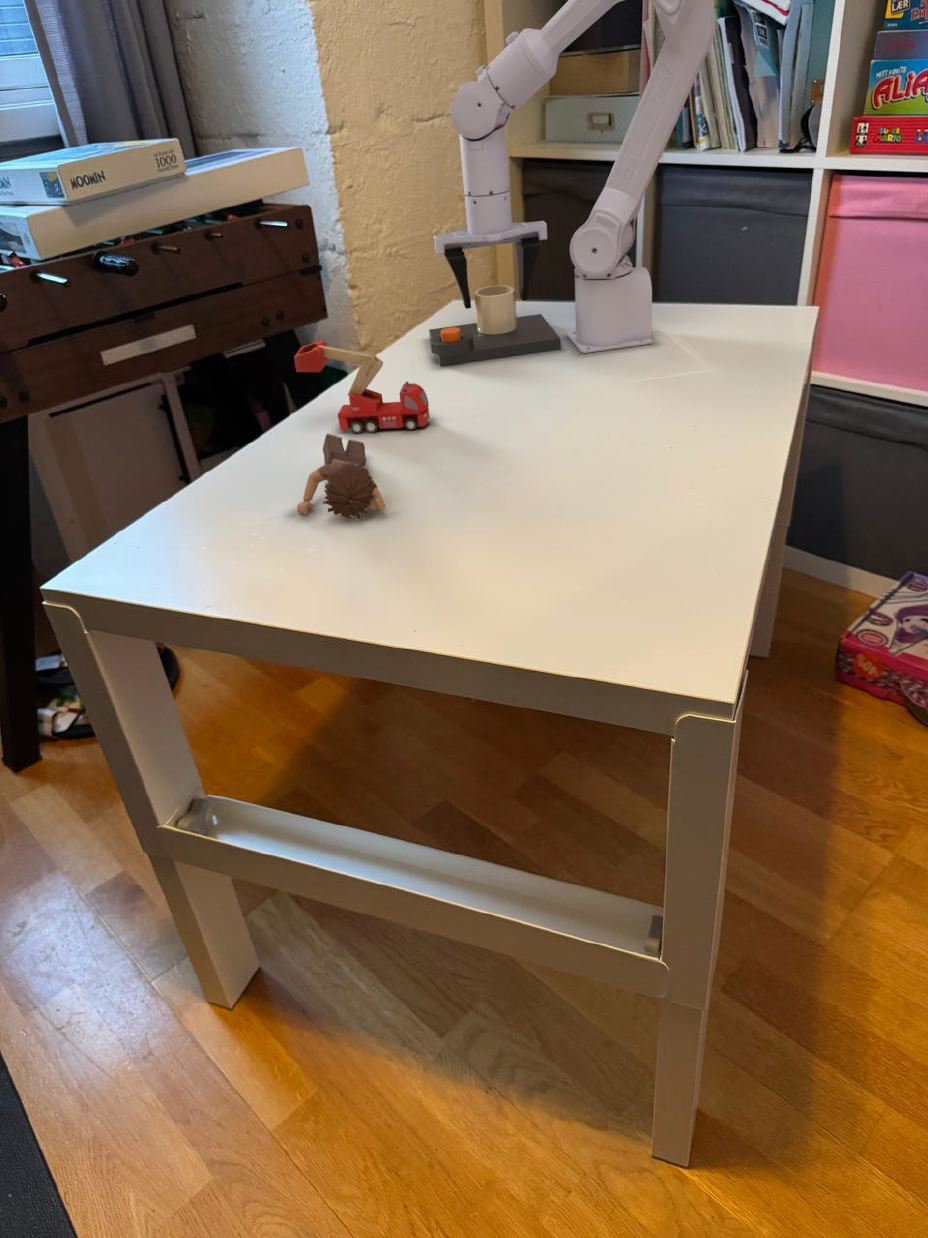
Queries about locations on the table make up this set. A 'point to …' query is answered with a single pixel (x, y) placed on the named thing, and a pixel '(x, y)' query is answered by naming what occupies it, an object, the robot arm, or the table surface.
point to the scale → (495, 342)
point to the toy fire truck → (367, 392)
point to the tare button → (450, 334)
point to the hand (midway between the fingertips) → (495, 302)
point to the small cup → (495, 309)
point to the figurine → (343, 480)
